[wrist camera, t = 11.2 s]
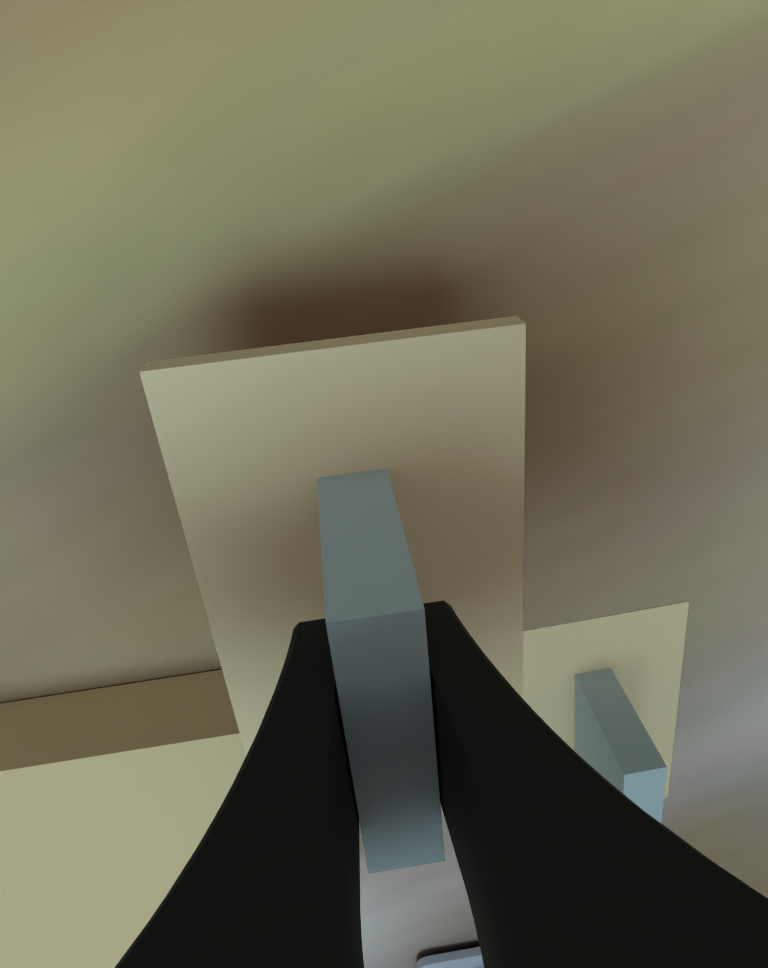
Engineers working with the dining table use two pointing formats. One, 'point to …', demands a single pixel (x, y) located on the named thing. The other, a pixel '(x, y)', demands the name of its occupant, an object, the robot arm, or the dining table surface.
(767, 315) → the dining table surface
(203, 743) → the panel
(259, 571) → the flap
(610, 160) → the dining table surface
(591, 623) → the flap
